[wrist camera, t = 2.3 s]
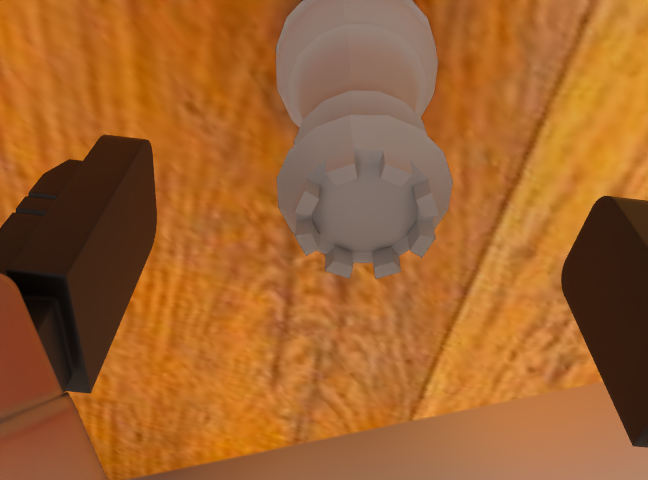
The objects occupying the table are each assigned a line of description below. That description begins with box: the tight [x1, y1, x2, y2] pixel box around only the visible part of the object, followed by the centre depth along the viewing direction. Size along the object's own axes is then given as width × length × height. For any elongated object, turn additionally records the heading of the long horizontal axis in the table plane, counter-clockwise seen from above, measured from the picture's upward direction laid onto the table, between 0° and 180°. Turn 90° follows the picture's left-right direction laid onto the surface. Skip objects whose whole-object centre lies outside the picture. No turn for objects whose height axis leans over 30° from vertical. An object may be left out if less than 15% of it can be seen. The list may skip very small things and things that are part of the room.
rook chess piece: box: [276, 0, 453, 279], centre depth 13 cm, size 4×4×8 cm
